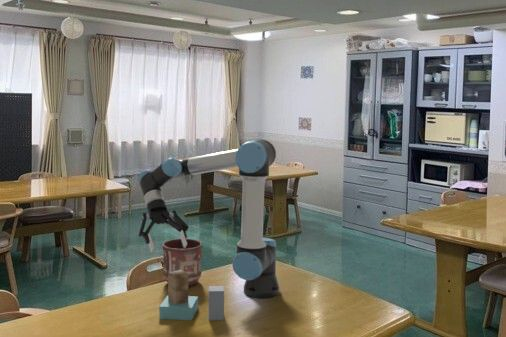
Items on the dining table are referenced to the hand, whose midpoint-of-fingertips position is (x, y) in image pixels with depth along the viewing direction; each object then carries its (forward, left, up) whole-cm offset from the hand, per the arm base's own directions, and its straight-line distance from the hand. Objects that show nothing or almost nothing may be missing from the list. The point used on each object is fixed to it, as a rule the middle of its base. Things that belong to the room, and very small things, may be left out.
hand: (169, 248), depth 206 cm
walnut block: (-4, +8, -18) cm, 20 cm away
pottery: (-4, -26, -23) cm, 35 cm away
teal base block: (-4, +8, -23) cm, 25 cm away
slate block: (-18, +13, -23) cm, 32 cm away
